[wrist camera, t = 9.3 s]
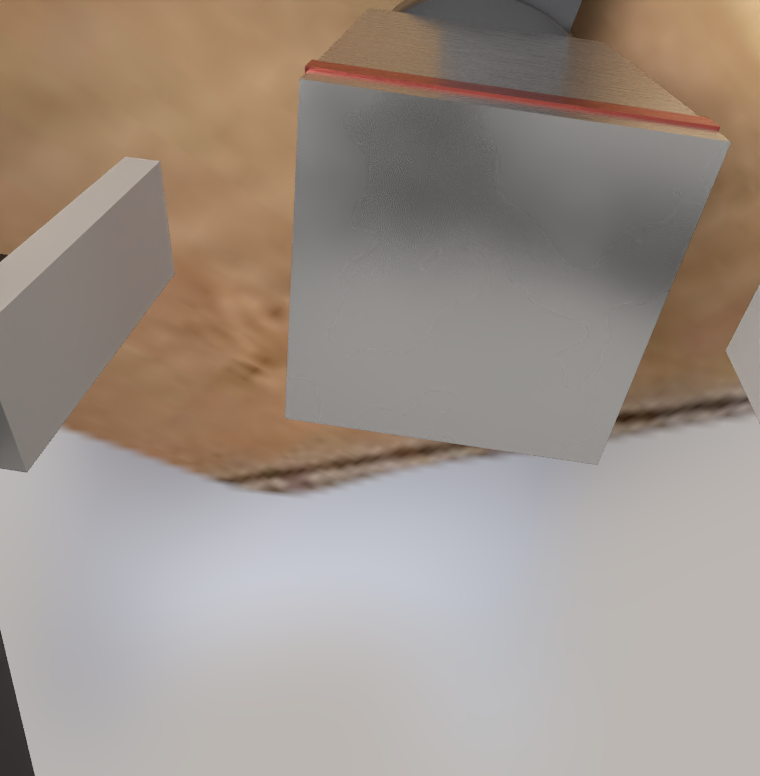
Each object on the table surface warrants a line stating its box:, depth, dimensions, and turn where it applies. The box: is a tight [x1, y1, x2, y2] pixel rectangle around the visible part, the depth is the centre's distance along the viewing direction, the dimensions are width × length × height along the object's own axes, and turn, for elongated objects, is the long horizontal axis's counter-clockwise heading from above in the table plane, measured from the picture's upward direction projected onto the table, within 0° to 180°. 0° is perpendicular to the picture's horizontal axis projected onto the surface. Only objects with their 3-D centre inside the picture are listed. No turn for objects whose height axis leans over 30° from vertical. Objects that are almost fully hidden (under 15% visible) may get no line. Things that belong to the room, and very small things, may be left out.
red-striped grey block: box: [285, 8, 731, 465], centre depth 16 cm, size 6×6×10 cm
